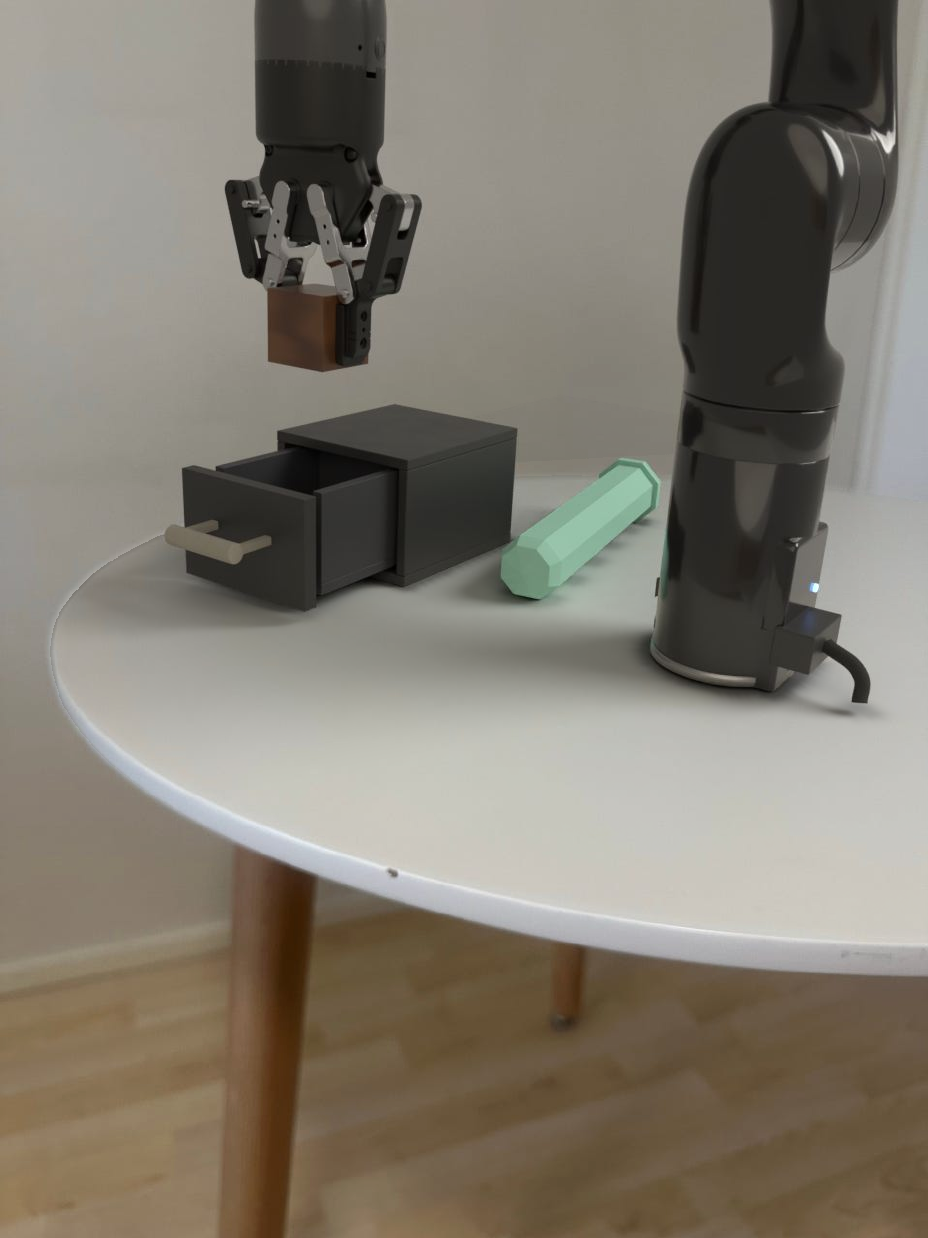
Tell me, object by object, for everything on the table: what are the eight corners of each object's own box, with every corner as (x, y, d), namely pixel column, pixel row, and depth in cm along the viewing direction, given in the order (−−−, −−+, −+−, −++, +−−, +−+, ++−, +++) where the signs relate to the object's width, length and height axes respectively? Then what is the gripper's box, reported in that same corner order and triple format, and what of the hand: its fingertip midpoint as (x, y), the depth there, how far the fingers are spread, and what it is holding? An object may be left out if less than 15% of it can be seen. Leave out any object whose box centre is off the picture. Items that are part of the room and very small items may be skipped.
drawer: (260, 630, 74) (257, 514, 71) (140, 588, 80) (133, 479, 77) (424, 562, 88) (428, 462, 85) (311, 531, 94) (311, 436, 91)
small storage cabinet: (404, 587, 85) (407, 460, 82) (278, 549, 92) (276, 430, 88) (510, 541, 96) (518, 427, 93) (391, 510, 103) (394, 403, 99)
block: (368, 363, 74) (370, 291, 72) (322, 372, 70) (323, 296, 68) (314, 353, 76) (315, 283, 74) (267, 361, 72) (266, 287, 71)
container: (546, 526, 80) (651, 449, 101) (473, 543, 83) (590, 465, 104) (571, 605, 81) (670, 513, 102) (498, 619, 84) (609, 527, 105)
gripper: (184, 51, 67) (194, 349, 74) (378, 54, 60) (370, 383, 66) (273, 63, 73) (275, 337, 79) (459, 66, 66) (445, 368, 72)
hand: (318, 357), depth 73 cm, fingers closed on block, 4 cm apart
